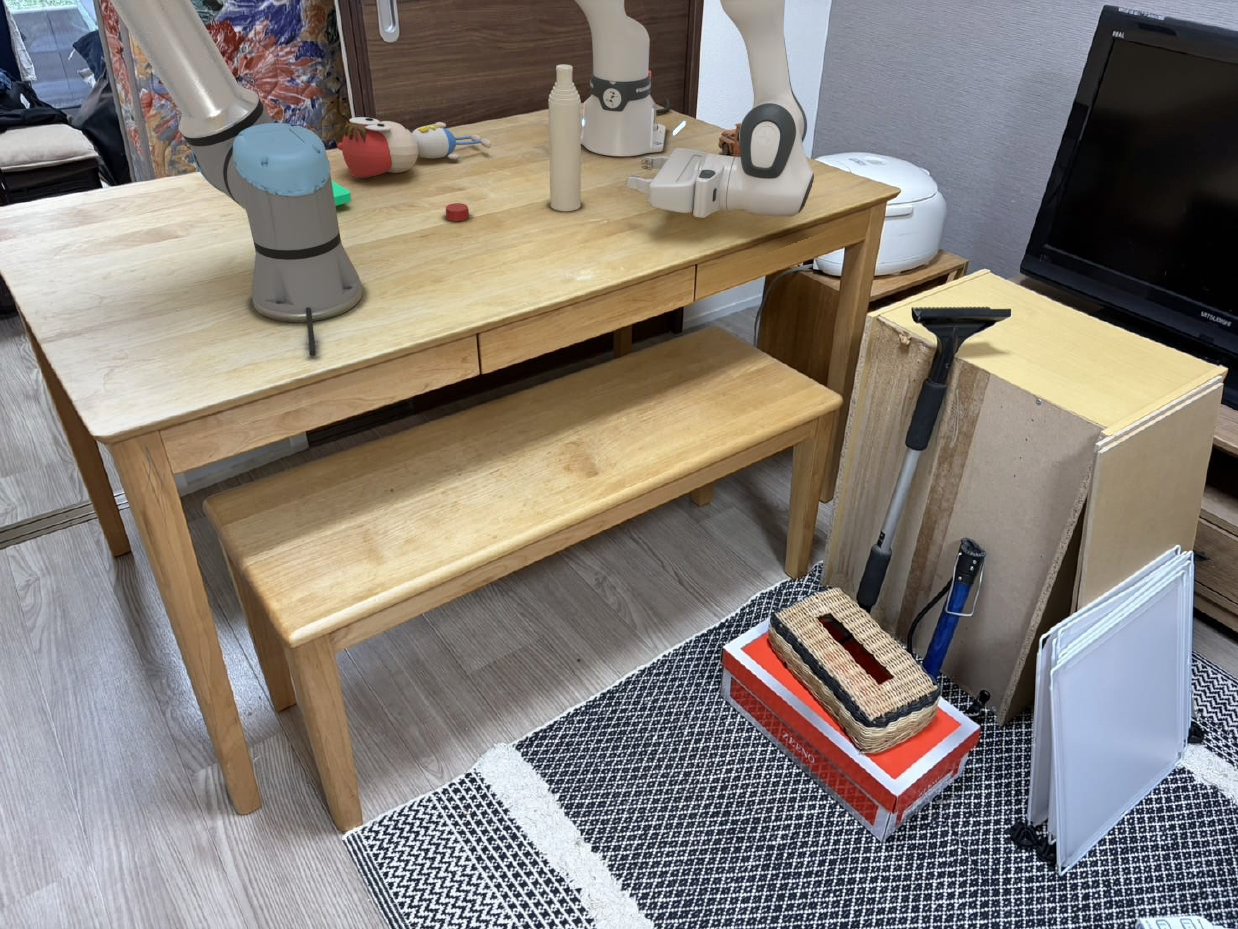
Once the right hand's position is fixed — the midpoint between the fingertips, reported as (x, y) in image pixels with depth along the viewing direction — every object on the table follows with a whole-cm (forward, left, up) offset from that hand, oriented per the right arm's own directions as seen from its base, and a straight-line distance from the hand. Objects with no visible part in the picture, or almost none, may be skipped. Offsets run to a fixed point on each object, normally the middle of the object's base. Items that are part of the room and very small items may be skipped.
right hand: (635, 171), depth 159 cm
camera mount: (+14, -54, -8) cm, 57 cm away
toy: (-10, -47, -8) cm, 48 cm away
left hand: (+12, -29, +29) cm, 42 cm away
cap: (+12, -29, -6) cm, 31 cm away
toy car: (-36, +14, -8) cm, 39 cm away
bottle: (0, -13, -8) cm, 15 cm away
